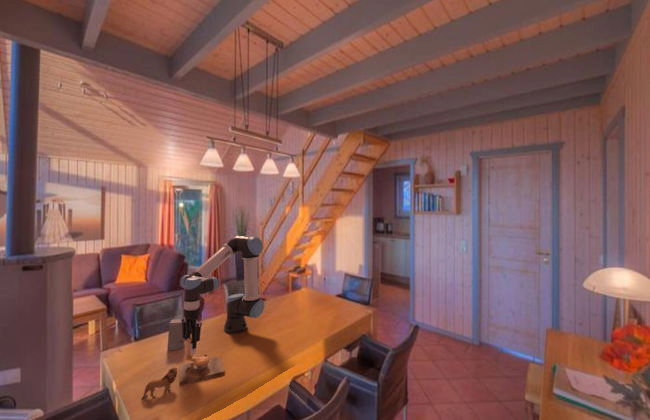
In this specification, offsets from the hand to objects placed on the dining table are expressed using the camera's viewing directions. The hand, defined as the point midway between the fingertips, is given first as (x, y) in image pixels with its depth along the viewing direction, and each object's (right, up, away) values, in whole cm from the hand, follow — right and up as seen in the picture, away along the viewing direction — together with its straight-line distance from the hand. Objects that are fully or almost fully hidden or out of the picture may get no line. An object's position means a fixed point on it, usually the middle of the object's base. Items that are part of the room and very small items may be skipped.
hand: (190, 353), depth 147 cm
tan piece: (+4, -3, -2) cm, 6 cm away
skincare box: (-18, -7, +21) cm, 28 cm away
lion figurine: (-4, -7, -21) cm, 22 cm away
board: (+7, -7, -3) cm, 11 cm away
